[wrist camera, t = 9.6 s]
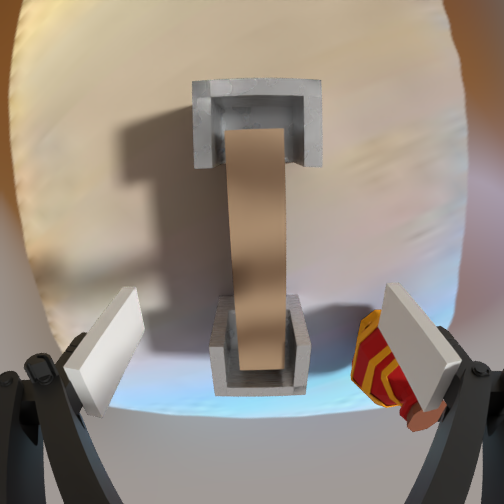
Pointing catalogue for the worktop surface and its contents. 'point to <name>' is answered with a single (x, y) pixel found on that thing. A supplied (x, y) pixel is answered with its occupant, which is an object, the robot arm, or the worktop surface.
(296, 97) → the bracket
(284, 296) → the rail
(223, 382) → the bracket
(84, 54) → the worktop surface
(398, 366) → the potion bottle
